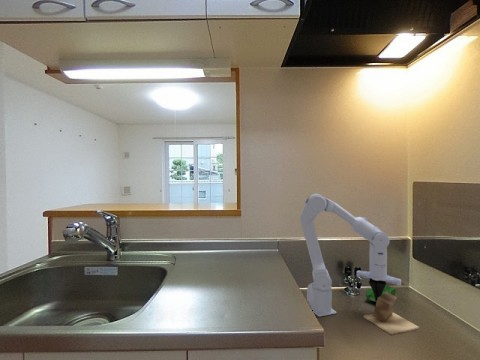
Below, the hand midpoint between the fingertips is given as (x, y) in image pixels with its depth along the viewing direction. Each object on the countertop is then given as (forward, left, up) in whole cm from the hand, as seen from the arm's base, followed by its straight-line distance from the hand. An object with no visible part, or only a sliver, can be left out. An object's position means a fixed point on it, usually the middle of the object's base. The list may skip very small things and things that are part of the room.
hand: (378, 300), depth 101 cm
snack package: (-10, +11, -6) cm, 16 cm away
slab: (+2, 0, -4) cm, 5 cm away
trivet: (+5, 0, -5) cm, 8 cm away
